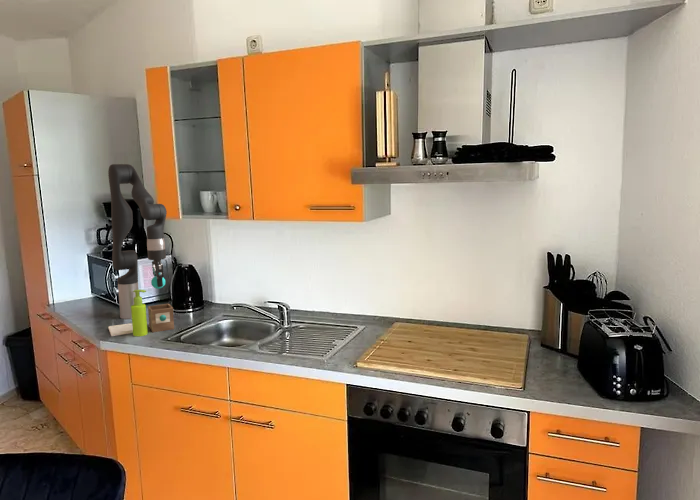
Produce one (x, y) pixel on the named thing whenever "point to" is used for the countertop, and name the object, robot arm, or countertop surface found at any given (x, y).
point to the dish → (120, 329)
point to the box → (161, 317)
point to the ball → (154, 282)
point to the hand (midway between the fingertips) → (158, 285)
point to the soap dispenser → (139, 315)
